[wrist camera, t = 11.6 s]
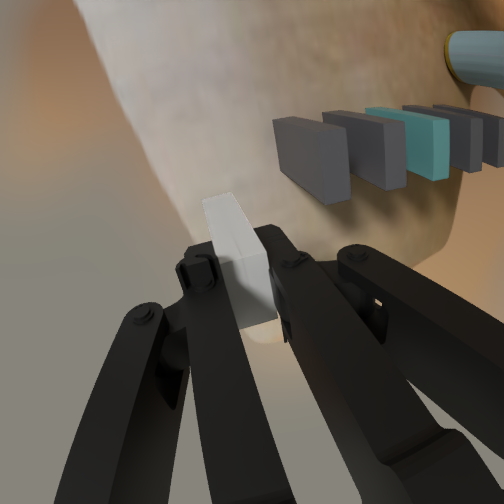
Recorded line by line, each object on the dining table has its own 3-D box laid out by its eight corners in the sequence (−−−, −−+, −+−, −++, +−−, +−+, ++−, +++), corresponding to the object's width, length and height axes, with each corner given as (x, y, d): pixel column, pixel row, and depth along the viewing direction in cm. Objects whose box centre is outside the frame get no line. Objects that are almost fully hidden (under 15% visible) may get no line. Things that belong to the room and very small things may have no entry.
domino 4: (404, 148, 31) (469, 173, 22) (402, 105, 28) (470, 118, 20) (417, 147, 31) (481, 170, 22) (415, 105, 29) (482, 118, 20)
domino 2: (327, 161, 30) (385, 191, 21) (321, 112, 27) (383, 123, 19) (345, 158, 30) (406, 186, 21) (340, 110, 27) (404, 121, 19)
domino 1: (280, 170, 29) (325, 205, 21) (272, 119, 27) (317, 131, 18) (300, 166, 29) (351, 199, 21) (292, 116, 27) (345, 127, 18)
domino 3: (369, 154, 30) (433, 181, 22) (365, 108, 28) (432, 120, 19) (384, 152, 30) (448, 177, 22) (380, 107, 28) (449, 119, 19)
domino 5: (434, 144, 31) (497, 167, 23) (433, 104, 29) (498, 118, 20) (445, 143, 32) (506, 166, 23) (443, 104, 29) (508, 119, 20)
